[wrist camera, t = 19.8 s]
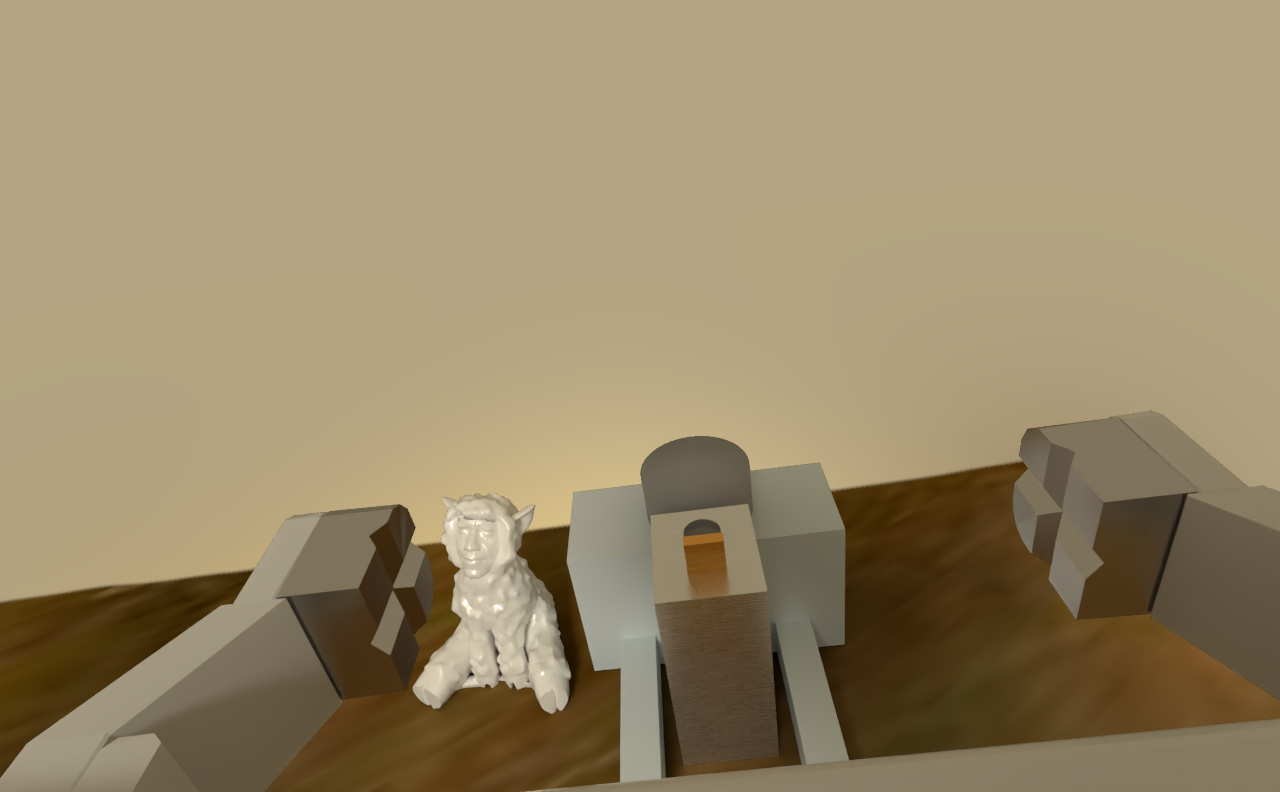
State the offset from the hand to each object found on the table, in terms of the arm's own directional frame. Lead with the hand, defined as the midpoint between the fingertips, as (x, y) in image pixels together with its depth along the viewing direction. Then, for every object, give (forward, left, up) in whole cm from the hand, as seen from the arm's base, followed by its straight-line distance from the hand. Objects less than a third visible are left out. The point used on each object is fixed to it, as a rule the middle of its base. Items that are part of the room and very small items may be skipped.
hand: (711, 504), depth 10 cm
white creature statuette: (-13, +24, -30) cm, 41 cm away
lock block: (0, +18, -30) cm, 35 cm away
